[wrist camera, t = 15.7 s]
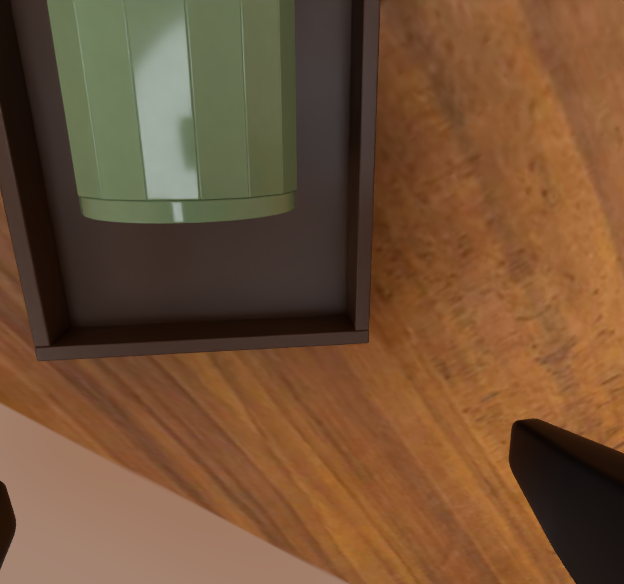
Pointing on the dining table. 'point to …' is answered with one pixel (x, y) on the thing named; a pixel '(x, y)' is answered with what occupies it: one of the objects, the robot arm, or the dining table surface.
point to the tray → (197, 236)
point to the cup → (178, 107)
